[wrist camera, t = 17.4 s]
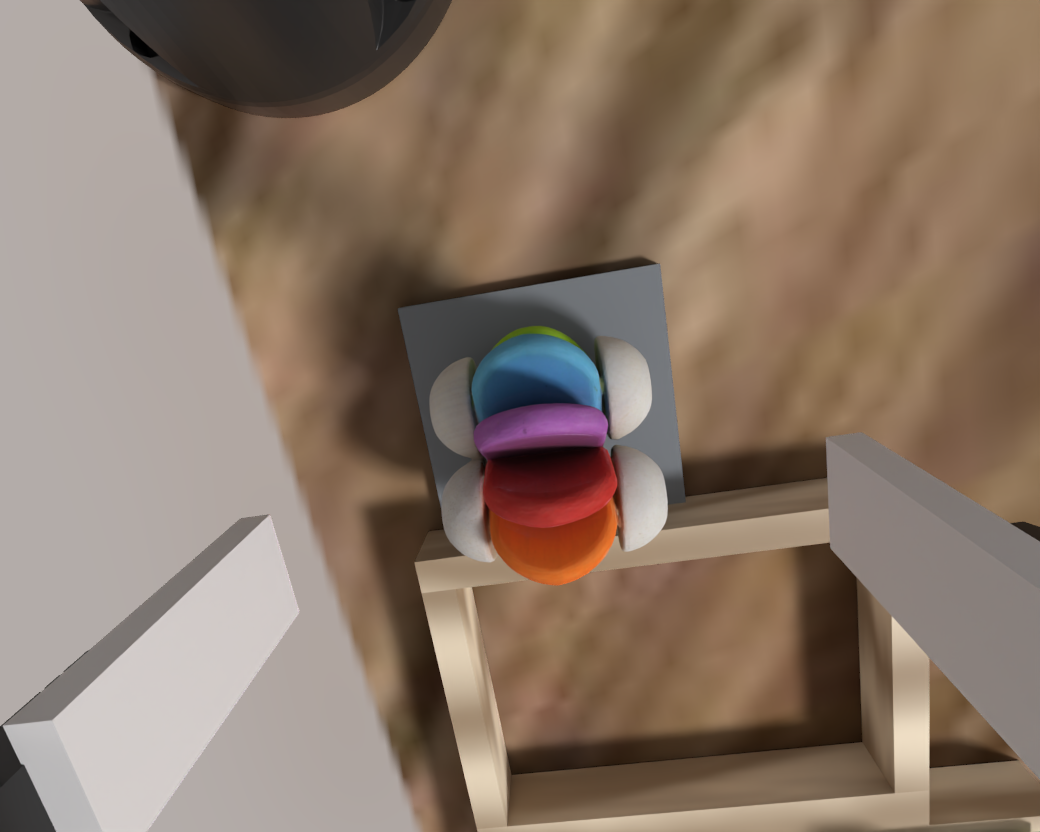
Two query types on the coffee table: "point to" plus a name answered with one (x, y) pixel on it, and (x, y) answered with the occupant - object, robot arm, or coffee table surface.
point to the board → (736, 777)
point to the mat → (576, 313)
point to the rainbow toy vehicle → (547, 454)
